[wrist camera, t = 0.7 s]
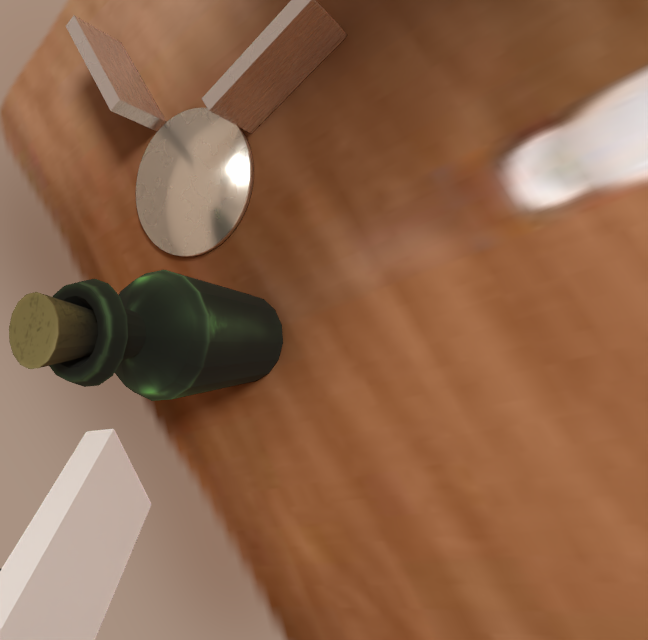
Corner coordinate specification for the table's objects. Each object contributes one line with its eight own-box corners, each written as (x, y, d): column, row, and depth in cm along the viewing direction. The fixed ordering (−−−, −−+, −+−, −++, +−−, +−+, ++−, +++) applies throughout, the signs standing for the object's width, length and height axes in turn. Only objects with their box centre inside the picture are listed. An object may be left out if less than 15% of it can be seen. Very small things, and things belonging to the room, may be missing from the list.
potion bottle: (266, 413, 44) (51, 445, 29) (192, 359, 48) (-34, 362, 32) (312, 314, 43) (111, 292, 27) (232, 267, 46) (15, 223, 31)
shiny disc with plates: (114, 43, 54) (66, 16, 50) (351, -5, 42) (316, -46, 38) (93, 253, 54) (44, 244, 50) (325, 262, 42) (287, 251, 38)
